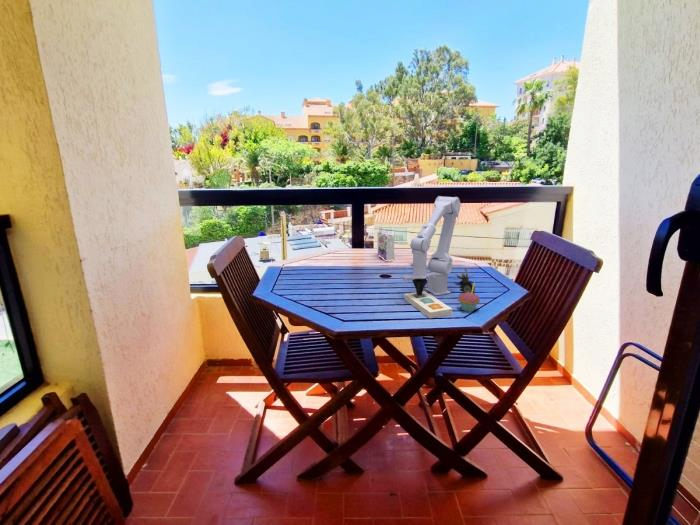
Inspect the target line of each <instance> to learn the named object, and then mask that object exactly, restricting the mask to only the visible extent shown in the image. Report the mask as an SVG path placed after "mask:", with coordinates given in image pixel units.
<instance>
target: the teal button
mask: <svg viewBox="0 0 700 525" xmlns="http://www.w3.org/2000/svg"><path fill="white" fill-rule="evenodd" d="M422 302H423V303H424V304H427V303H432V299H430V298H423V299H422Z"/></svg>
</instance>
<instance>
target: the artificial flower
mask: <svg viewBox="0 0 700 525" xmlns="http://www.w3.org/2000/svg"><path fill="white" fill-rule="evenodd" d="M464 272H465V273H463V272H461V274H460V275H461V276H460V275H459V274H458V273H454V275H455V276H456V277H457V278H458V279H460V281H458V282H457V283H458V284H459V283H460V282H463V283H461V284H460V285H459V291H460V292H461V294H462V293H466V292H470V293H471V291H472V287H473V283H472V282H470V278H471V277H472V276H473V274H471V275H469V273H468V270H467V269H466V268H465V269H464ZM468 275H469V276H468ZM475 288H476V287H475V286H474V290H473V293H474V294H476V293H475V290H476V289H475Z"/></svg>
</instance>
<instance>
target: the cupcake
mask: <svg viewBox="0 0 700 525" xmlns="http://www.w3.org/2000/svg"><path fill="white" fill-rule="evenodd" d="M473 282H474V283H472V285H473V287H472V291H471V293H470V292H466V293H462V292H461V293H460V294H459V295H458V297H457V302H458V303H460V306H461V309H462V311H465V312H474V311H475V309H476V307H477V305H478V304H479V303H480V297H479V295H478V294H476V293H473V290H474V287H475V284H476V281H473ZM474 291H475V290H474Z"/></svg>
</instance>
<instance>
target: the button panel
mask: <svg viewBox="0 0 700 525" xmlns="http://www.w3.org/2000/svg"><path fill="white" fill-rule="evenodd" d="M415 293H417V292H416V291H414V292H408V293H404V299H403V300H404V301H406V302H407V303H409V304H410V305H412V307H413V308H416V309H417V310H418V311H419V312H421V313H422V314H423V315H424V316H426V317H428V318H429V319H434V318H440V317H445V316H446V317H447V316H451V315H453V308H452V307H450V306H449V305H447V304H446V303H444V302H442V301H441V300H440V299H438V298H436V297H434V296H433V295H431V293H428V292H427V291H425V290H423V292H422V293H423V294H424V297H422V298H416V297H414V294H415ZM423 298H430V299H432V303H427V304H424V303H423V302H422V299H423ZM431 304H440V305H441V309H435V310H433V309H431V308H430V305H431Z"/></svg>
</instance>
